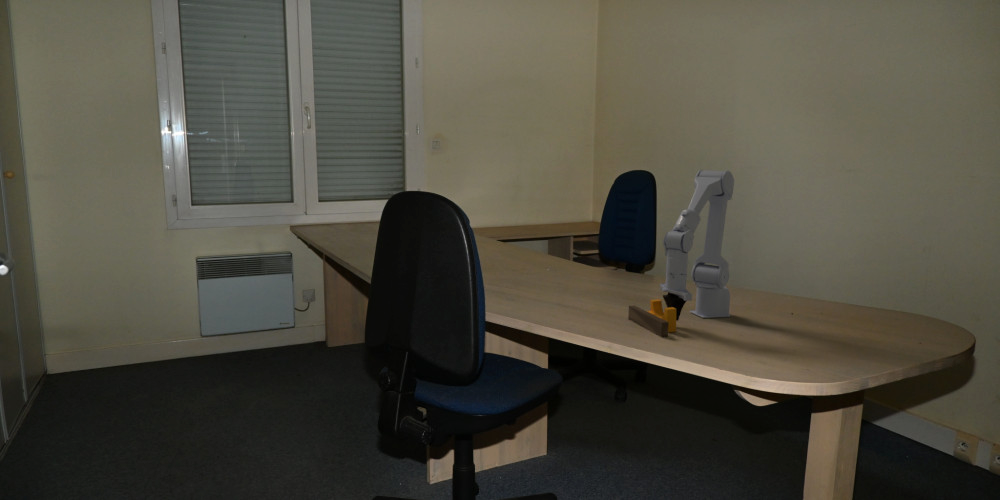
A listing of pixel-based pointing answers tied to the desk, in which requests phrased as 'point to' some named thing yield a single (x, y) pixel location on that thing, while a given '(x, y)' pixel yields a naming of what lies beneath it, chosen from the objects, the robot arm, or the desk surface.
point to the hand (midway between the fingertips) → (673, 320)
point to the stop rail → (648, 321)
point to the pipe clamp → (664, 313)
